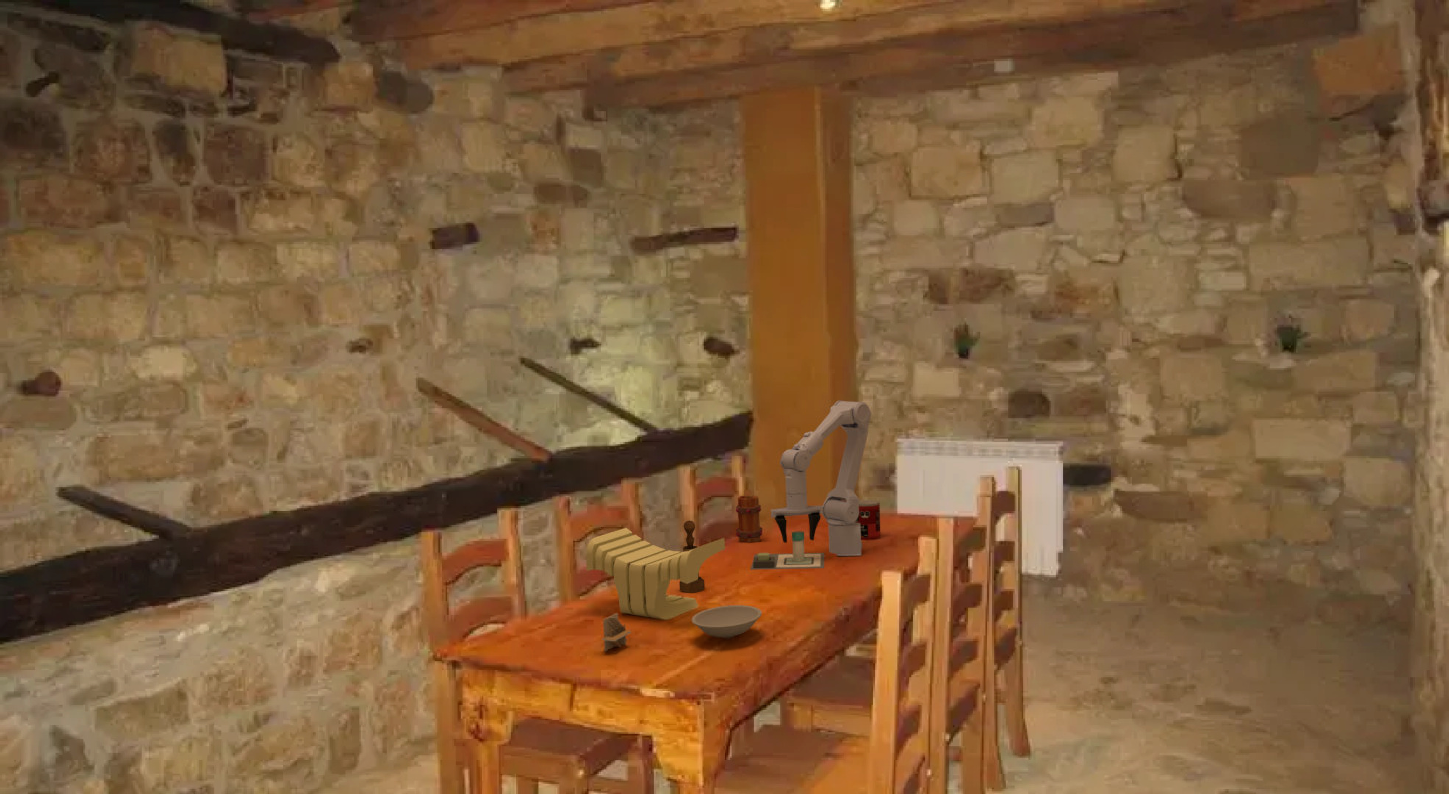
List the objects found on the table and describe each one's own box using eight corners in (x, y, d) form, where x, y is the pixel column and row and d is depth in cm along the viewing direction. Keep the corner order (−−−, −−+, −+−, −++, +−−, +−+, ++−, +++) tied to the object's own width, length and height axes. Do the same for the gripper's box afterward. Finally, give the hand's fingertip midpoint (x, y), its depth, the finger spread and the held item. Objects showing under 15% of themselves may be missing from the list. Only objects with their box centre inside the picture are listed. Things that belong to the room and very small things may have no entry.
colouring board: (824, 555, 328) (824, 546, 328) (824, 570, 311) (823, 561, 310) (754, 557, 330) (754, 548, 330) (750, 572, 313) (750, 562, 312)
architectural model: (632, 647, 252) (630, 614, 251) (615, 656, 245) (613, 622, 245) (619, 645, 253) (617, 612, 252) (601, 655, 247) (599, 621, 246)
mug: (763, 545, 345) (761, 496, 344) (736, 546, 345) (734, 497, 344) (762, 535, 360) (760, 487, 358) (736, 536, 360) (734, 488, 359)
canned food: (849, 536, 352) (848, 501, 351) (871, 533, 355) (870, 498, 354) (862, 541, 345) (861, 505, 344) (885, 538, 348) (884, 502, 347)
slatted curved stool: (589, 612, 280) (585, 540, 278) (629, 596, 293) (626, 527, 291) (688, 628, 263) (685, 551, 261) (727, 610, 276) (724, 537, 274)
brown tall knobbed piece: (701, 593, 293) (698, 523, 292) (677, 592, 294) (673, 523, 293) (707, 586, 300) (704, 518, 298) (683, 586, 301) (679, 518, 299)
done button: (769, 560, 317) (769, 552, 317) (769, 562, 314) (768, 555, 314) (758, 560, 318) (758, 553, 317) (758, 562, 315) (757, 555, 314)
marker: (803, 559, 321) (802, 530, 321) (806, 561, 318) (805, 533, 317) (791, 560, 320) (790, 531, 320) (794, 562, 317) (793, 534, 317)
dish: (724, 623, 265) (723, 602, 265) (776, 631, 257) (775, 609, 257) (677, 644, 251) (676, 621, 251) (731, 653, 243) (730, 630, 242)
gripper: (818, 488, 323) (820, 535, 324) (767, 492, 320) (769, 540, 321) (824, 492, 316) (826, 541, 317) (773, 496, 313) (775, 545, 315)
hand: (798, 540), depth 319 cm, fingers open, 7 cm apart
